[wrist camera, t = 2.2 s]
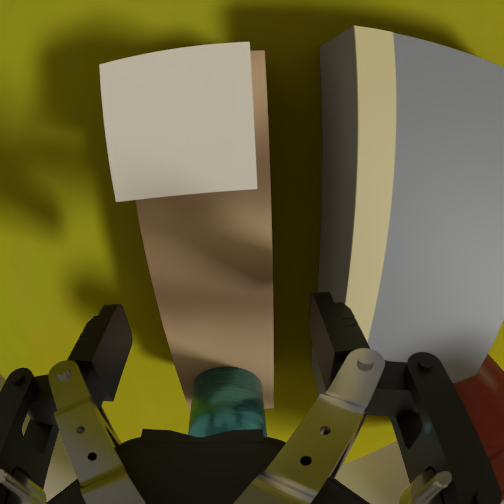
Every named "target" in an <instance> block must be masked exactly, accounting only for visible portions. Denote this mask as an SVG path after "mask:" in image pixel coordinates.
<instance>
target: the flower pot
mask: <svg viewBox="0 0 504 504" xmlns="http://www.w3.org/2000/svg"><path fill="white" fill-rule="evenodd" d="M453 385H454V387H455V389H456V391H457V392H458V394H459V396H460V398H461V400H462V402H463V404H464V406H465V408H466V410H467V412H468V414H469V416H470V418H471V420H472V423H473V425H474V427H475V429H476V431H477V433H478V435H479V438H480V440H481V442H482V444H483V447H484V449H485V451H486V453H487V456H488V458H489V461H490V463H491V465H492V468H493V470H494V473H495V475H496V478H497V481H498V483H499V486H500V489H501V492H502V500H501V503H502V502H503V501H504V371H503V370H502V369H501V368H500V367H499V366H498V364H497V363H496V362H495V361H494V360H493V359H492V358H491V357H490V356H489V355H488V354H487V356H486V358H485V360H484V361H483V363H482V365H481V367H480V369H479V371H478V372H477V374H476V375H475V376H472V377H470V378H467V379H464V380H461V381H459V382H456V383H453Z"/></svg>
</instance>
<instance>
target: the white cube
mask: <svg viewBox="0 0 504 504" xmlns="http://www.w3.org/2000/svg"><path fill="white" fill-rule="evenodd" d="M99 68H100V84H101V97H102V109H103V118H104V127H105V136H106V144H107V151H108V158H109V165H110V171H111V177H112V183H113V189H114V194H115V200H116V202H122V201H130V200H139V199H148V198H157V197H166V196H176V195H187V194H198V193H210V192H222V191H236V190H251V189H257V169H256V149H255V129H254V110H253V91H252V73H251V55H250V42H233V43H219V44H208V45H199V46H191V47H183V48H176V49H169V50H163V51H157V52H152V53H147V54H142V55H137V56H132V57H128V58H123V59H119V60H115V61H111V62H107V63H103V64H99Z"/></svg>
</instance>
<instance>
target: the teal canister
mask: <svg viewBox="0 0 504 504" xmlns="http://www.w3.org/2000/svg"><path fill="white" fill-rule="evenodd" d="M262 428H263V436H264V437H267V430H266V420H265V410H264V399H263V389H262V383H261V381H260V379H259V378H258V377H257V376H256V375H255V374H253V373H252V372H250V371H248V370H245V369H242V368H238V367H229V366H224V367H216V368H212V369H209V370H206V371H204V372H202V373H201V374H199V375H198V376H197V377H196V379H195V381H194V383H193V391H192V401H191V411H190V421H189V432H188V435H191V436H195V437H206V436H210V435H215V434H219V433H223V432H227V431H231V430H248V429H262Z"/></svg>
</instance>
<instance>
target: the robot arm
mask: <svg viewBox="0 0 504 504" xmlns="http://www.w3.org/2000/svg"><path fill="white" fill-rule="evenodd" d="M309 332H310V337H311V341H312V344H313V347H314V351H315V354H316V358H317V361H318V364H319V368H320V371H321V375H322V378H323V382H324V385H325V389H326V393H323V392H322V393H321V394H320V395H319V396H318V397H317V399H316V400H315V402H314V403H313V405H312V407H311V408H310V410H309V411H308V412H307V414H306V415H305V417H304V418H303V420H302V421H301V423H300V424H299V426H298V427H297V428H296V430H295V431H294V433H293V434H292V436H291V437H290V438H289V440H288V441H287V442H284V441H281V440H278V439H274V438H270V437H264V436H263V428H262V429H248V430H231V431H227V432H223V433H219V434H215V435H210V436H206V437H195V436H191V435H186V434H182V433H178V432H174V431H171V430H152V429H143V430H142V435H141V437H138V438H134V439H131V440H128V441H126V442H124V443H121V441H120V440H119V438H118V436H117V434H116V432H115V431H114V429H113V427H112V425H111V423H110V421H109V419H108V417H107V415H106V413H105V411H104V409H103V408H102V403H103V401H112V402H113V400H114V397H115V394H116V391H117V388H118V384H119V381H120V378H121V375H122V372H123V369H124V366H125V363H126V360H127V358H128V355H129V352H130V349H131V346H132V332H131V329H130V327H129V324H128V321H127V318H126V315H125V312H124V309H123V307H122V305H120V304H114V305H104V306H103V308H102V309H101V311H100V313H99V315H98V316H94V317H93V318H92V319H91V320H90V321H89V322H88V323H87V324H86V326H85V328H84V330H83V333H81V335H80V337H79V339H78V341H77V343H76V344H75V346H74V348H73V350H72V352H71V354H70V356H69V358H68V360H66V361H61V362H59V363H57V364H56V365H54V366H53V367H52V368H51V370H50V371H49V374H48V375H42V376H36V377H34V375H33V374H32V372H31V371H30V370H29V369H27V368H19V369H16V370H15V371H13V372H12V373H11V374H10V375H9V376H8V378H7V380H6V382H5V384H4V386H3V388H2V390H1V392H0V504H370V503H369V502H367V501H366V500H364V499H363V498H361V497H360V496H358V495H357V494H355V493H354V492H352V491H351V490H350V489H348V488H347V487H346V486H344V485H343V484H341V483H340V482H339V481H337V480H336V479H335V477H336V475H337V473H338V472H339V470H340V468H341V466H342V465H343V463H344V461H345V459H346V457H347V455H348V453H349V451H350V449H351V447H352V445H353V443H354V441H355V439H356V437H357V435H358V433H359V431H360V429H361V427H362V425H363V423H364V421H365V419H366V417H367V415H380V416H390V419H391V422H392V425H393V428H394V431H395V435H396V438H397V441H398V444H399V447H400V450H401V454H402V457H403V461H404V464H405V468H406V470H407V474H408V478H409V481H410V485H409V486H408V487H407V488H406V489H405V490H404V491H403V493H402V494H401V496H400V500H399V504H501V500H502V492H501V489H500V486H499V483H498V481H497V478H496V475H495V473H494V470H493V468H492V465H491V463H490V461H489V458H488V456H487V453H486V451H485V449H484V447H483V444H482V442H481V440H480V438H479V435H478V433H477V431H476V429H475V427H474V425H473V423H472V420H471V418H470V416H469V414H468V412H467V410H466V408H465V406H464V404H463V402H462V400H461V398H460V396H459V394H458V392H457V391H456V389H455V387H454V385H453V383H452V381H451V379H450V377H449V376H448V374H447V372H446V370H445V368H444V366H443V365H442V363H441V361H440V360H439V359H438V358H437V357H436V356H435V355H433V354H431V353H427V352H417V353H414V354H412V355H411V356H410V357H409V358H408V361H407V362H392V361H387V360H384V358H383V356H382V355H381V354H380V353H378V352H377V351H375V350H372V349H370V347H369V345H368V343H367V340H366V338H365V336H364V334H363V332H362V330H361V328H360V326H359V325H358V322H357V320H356V319H355V316H354V314H353V313H352V311H351V309H350V308H349V307H348V306H347V305H345V304H344V303H343V302H338V303H334V300H333V298H332V296H331V294H330V292H329V291H328V292H318V293H311V296H310V312H309ZM27 414H28V415H29V417H30V421H29V423H28V426H27V429H26V432H25V434H24V436H23V434H22V425H23V422H24V420H25V417H26V415H27ZM59 431H60V434H61V437H62V440H63V443H64V445H65V448H66V451H67V454H68V456H69V458H70V461H71V463H72V466H73V469H74V471H75V473H76V475H77V478H78V479H76V480H75V481H74V482H73V483H71V484H70V485H69V486H68V487H66V488H65V489H64V490H63V491H61V492H60V493H59V494H57V495H56V496H55V497H54V498H52V499H51V500H50V501H49V502H46V495H45V492H44V491H43V488H44V483H45V479H46V475H47V471H48V467H49V464H50V460H51V456H52V453H53V449H54V445H55V442H56V438H57V435H58V432H59Z"/></svg>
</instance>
